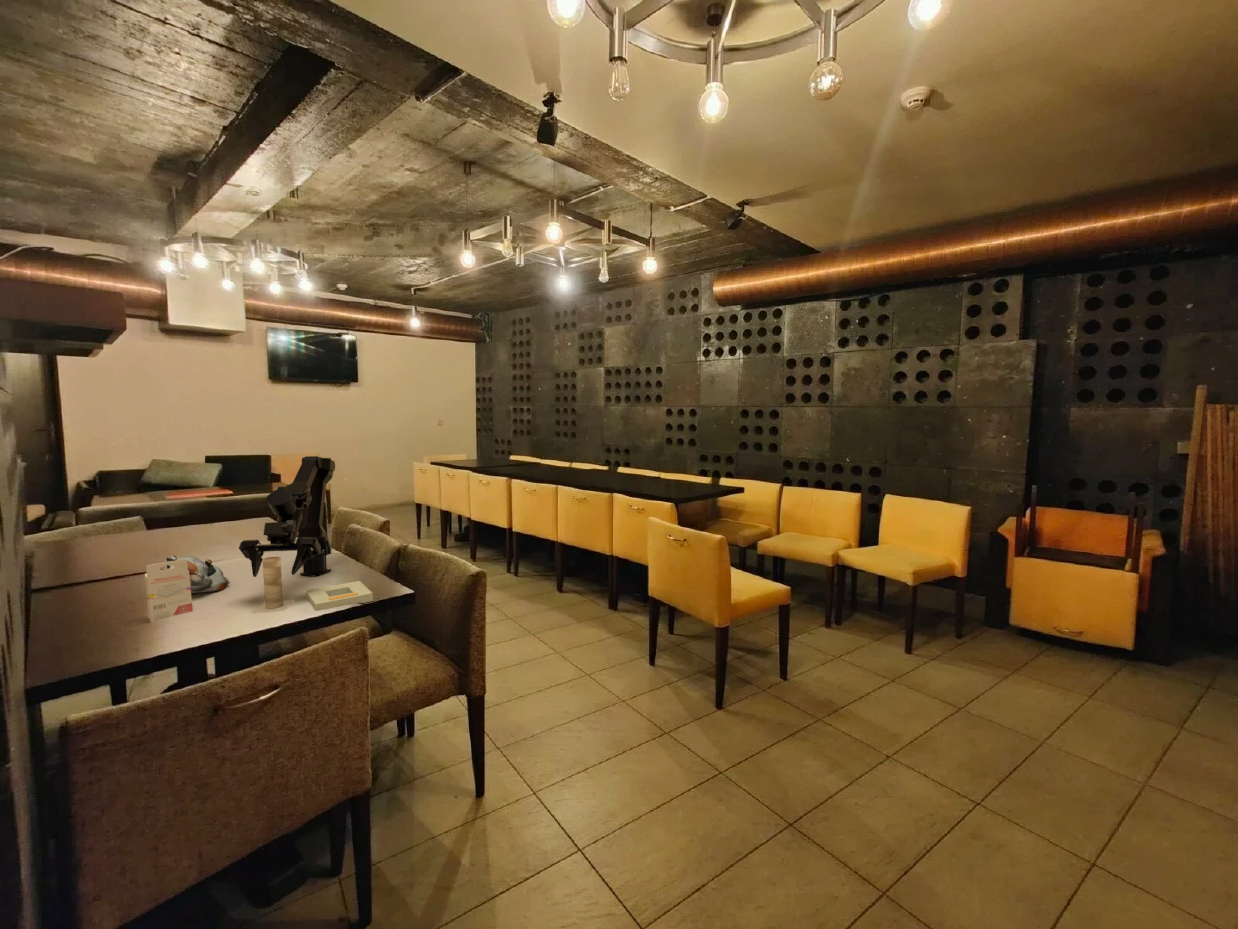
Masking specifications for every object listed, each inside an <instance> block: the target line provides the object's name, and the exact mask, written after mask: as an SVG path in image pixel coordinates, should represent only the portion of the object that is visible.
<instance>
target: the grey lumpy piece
mask: <svg viewBox="0 0 1238 929" xmlns="http://www.w3.org/2000/svg"><path fill="white" fill-rule="evenodd" d="M165 559H166V562H170V561H177V560H183V559H186V560H187V565H188V570H189V576H190V587H191V594H199V593H207V592H221V591H223V590H224V589H226V587H228V586H229V585H230V584H231V581H230V580H229V578H228V577H226V576H225V575H224V572H223V571H222V569H221V568H220V567H218V566H217V565H214V564H212V563H213V561H212V559H210V558H206V559H205V561H203V560H201V559H199V558H197V557H196V556H193V555H184V556H180V557H177V556H176V555H171V556H168V557H166V558H165ZM174 567H175V566H169V565H166V569H170V568H174Z"/></svg>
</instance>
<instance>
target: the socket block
mask: <svg viewBox="0 0 1238 929" xmlns="http://www.w3.org/2000/svg"><path fill="white" fill-rule="evenodd" d="M373 596H374V594H373V592H372V591H371V590H370V589H368V587H367V586H366V585H365V584H363V583H362V581H360V580H357V581H352V582H347V583H346V582H345V583H340V584H336V585H329V586H324V587H319V588H313V589H307V590H305V597H306V599H307V600H308V601H309V603H310V605H311V606H312V607H313V609H314V610H315V611H316V612H317V611H322V610H327V609H333V608H336V607H342V606H346V605H351V604H358V603H360V602H367V601H368V602H369V601H373V602H374V597H373Z"/></svg>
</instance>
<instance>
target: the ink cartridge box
mask: <svg viewBox="0 0 1238 929" xmlns="http://www.w3.org/2000/svg"><path fill="white" fill-rule="evenodd" d="M167 565H169V566H175V567H174V568H170V569H167V568H165V567H167ZM145 568H146V573H144V584H145V596H146V605H147V607H146V608H147V617H148V618H147V619H148V620H149V622H150V623H154V622H157V621H160V620H162V619H165V618H168V617H171V616H177V615H181V614H185V613H189V612H193V611H194V610H193V601H192V600H193V599H192V598H193V597H192V593H191V587H190V576H189V570H188V565H187V560H186V559H183V560H177V561H170V562H167V561H164V562H159V563H158V562H157V563H153V564H148V565H146V566H145ZM161 568H165V569H161Z"/></svg>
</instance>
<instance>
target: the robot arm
mask: <svg viewBox="0 0 1238 929" xmlns="http://www.w3.org/2000/svg"><path fill="white" fill-rule="evenodd" d="M331 458H332V457H322V456H317V455H316V456H315V455H314V456H313V455H311V456H310V455H309V456H302V459H301V464H300V467H299V469H298V471H297V473H296V475H295V476H294V479H293V481H292V482H291V483H289V484H288V485H285V486H277V489H275V490H273V491H271V492H270V493H268V495H267V496H266V502H267V504H268V506H269V507H270V509H271V511H272V513H273V514H274V515H275V516H276V517H277V520H276V522H265V523H264V528H263V536H267V538H266V540H267V542H270V543H261V542H260V540H259V539H244V540H241V542H239V546H238V549H239V551H240V552H241V554H242V555H243V557H244V558H245V559H247V560H249V561H250V563H251V564H250V565H251V572H252V576H253V577H254V578H257V575H258V574H259V572H260V568H261V565H262V564H263V559H264V558H263V556H264V553H265V552H289V551H290V552H292V551H296V555H295V559H294V562H293V565H292V569H291V575H292V576H294V575H296V573H297V572H298V571H299V570H300V569H301V568H302V572H300V574H299V575H300V576H308V575H318V576H320V575H321V576H322V575H324V574H326V573H328V572H331V571H332V569H331V568H327V567H328V565H327V562H328V561H327V556H328V555H332V544H331V543H330V540H329V539H328V535H327V534H328V533H327V532H326V531H325V529H324V527H323V520H324V511H325V510H324V509H325V501H326V492H327V484H328V483H329V482H330V481H331V480H332V479H333V475H334V472H335V471H336V461H334V460H332V459H331ZM301 509H307V510H306V511H307V512H306V521H305V524H304V525H303V527H300V524H301V522H303V521H304V520H303V512H302V510H301ZM325 572H326V573H325ZM323 573H324V574H323Z"/></svg>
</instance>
